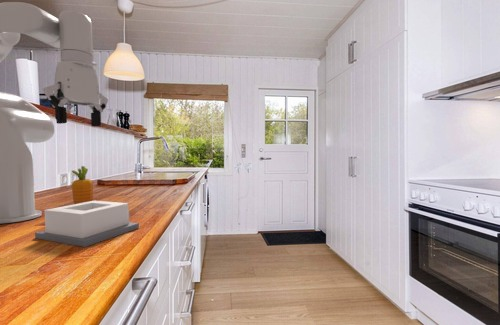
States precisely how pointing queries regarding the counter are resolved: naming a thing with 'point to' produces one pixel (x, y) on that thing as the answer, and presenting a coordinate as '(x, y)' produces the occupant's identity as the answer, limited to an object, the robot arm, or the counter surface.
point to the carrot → (82, 187)
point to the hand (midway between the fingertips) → (79, 124)
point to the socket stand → (86, 223)
